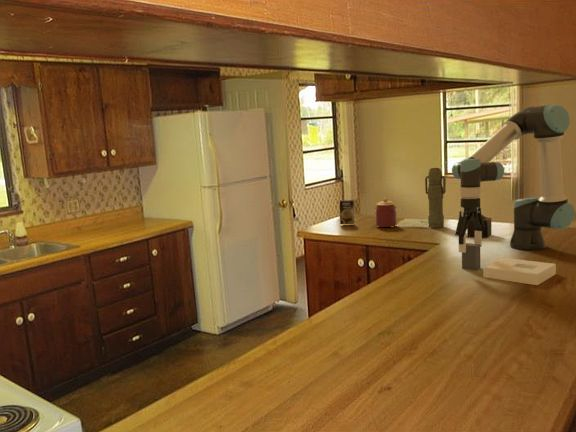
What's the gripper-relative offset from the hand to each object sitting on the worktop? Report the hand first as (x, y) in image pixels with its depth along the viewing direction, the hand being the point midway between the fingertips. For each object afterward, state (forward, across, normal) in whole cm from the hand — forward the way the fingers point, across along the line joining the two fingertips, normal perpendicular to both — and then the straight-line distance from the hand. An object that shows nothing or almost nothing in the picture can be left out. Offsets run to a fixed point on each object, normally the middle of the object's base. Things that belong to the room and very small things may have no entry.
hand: (470, 249), depth 215 cm
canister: (+8, -68, -89) cm, 112 cm away
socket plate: (+8, 0, +20) cm, 22 cm away
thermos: (+7, -78, -61) cm, 100 cm away
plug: (+8, 0, 0) cm, 8 cm away
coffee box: (+8, -60, -114) cm, 129 cm away
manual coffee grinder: (+7, -64, -30) cm, 71 cm away
